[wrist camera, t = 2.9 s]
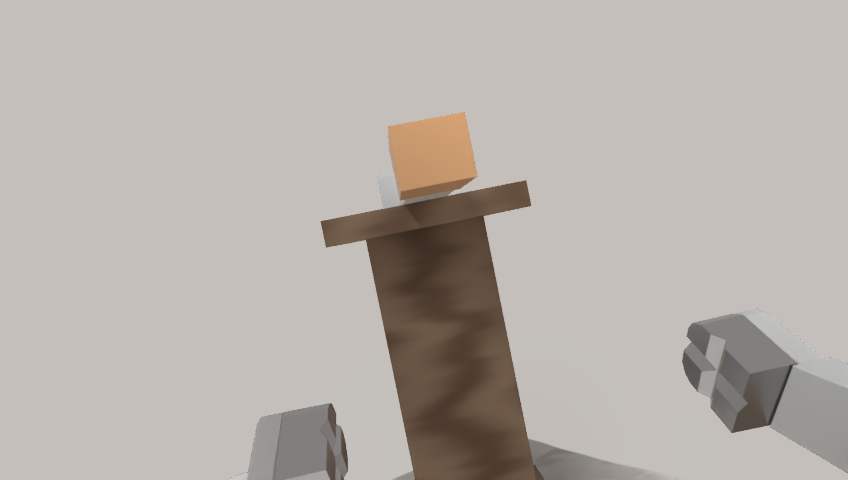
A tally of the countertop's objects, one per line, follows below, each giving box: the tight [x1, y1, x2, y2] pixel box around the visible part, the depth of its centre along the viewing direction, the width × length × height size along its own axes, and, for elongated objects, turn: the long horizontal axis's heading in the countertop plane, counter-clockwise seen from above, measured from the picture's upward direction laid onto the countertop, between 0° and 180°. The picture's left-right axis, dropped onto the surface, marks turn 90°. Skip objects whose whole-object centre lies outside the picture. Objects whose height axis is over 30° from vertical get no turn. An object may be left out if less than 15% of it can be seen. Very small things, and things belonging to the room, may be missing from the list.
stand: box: [321, 181, 544, 480], centre depth 34 cm, size 12×14×26 cm
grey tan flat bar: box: [377, 112, 477, 209], centre depth 30 cm, size 5×23×3 cm, turn 4°
